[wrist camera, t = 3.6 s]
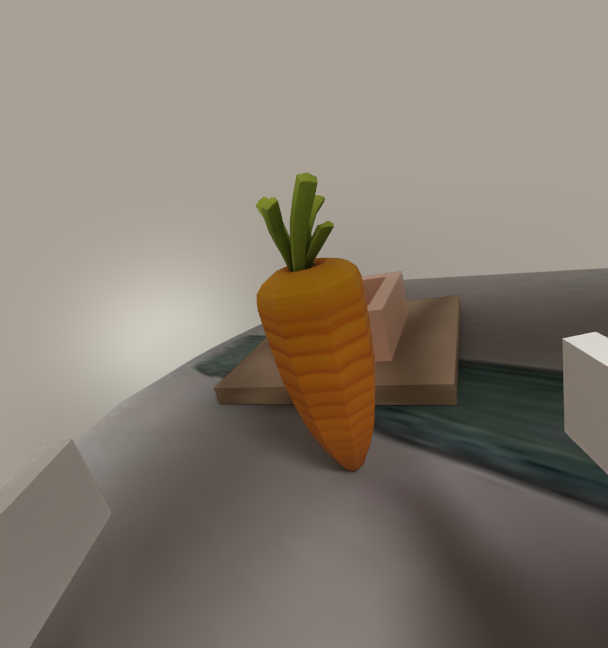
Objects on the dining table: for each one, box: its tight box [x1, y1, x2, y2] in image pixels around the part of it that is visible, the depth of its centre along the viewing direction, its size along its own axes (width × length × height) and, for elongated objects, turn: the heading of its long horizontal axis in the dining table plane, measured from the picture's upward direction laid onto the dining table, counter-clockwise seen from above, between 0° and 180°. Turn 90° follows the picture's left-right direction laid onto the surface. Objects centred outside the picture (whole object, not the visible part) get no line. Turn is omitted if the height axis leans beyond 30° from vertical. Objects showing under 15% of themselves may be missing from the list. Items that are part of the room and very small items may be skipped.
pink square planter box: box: [362, 271, 408, 362], centre depth 33 cm, size 10×9×4 cm
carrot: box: [256, 173, 375, 471], centre depth 18 cm, size 5×5×15 cm
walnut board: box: [214, 295, 460, 405], centre depth 34 cm, size 18×16×2 cm
